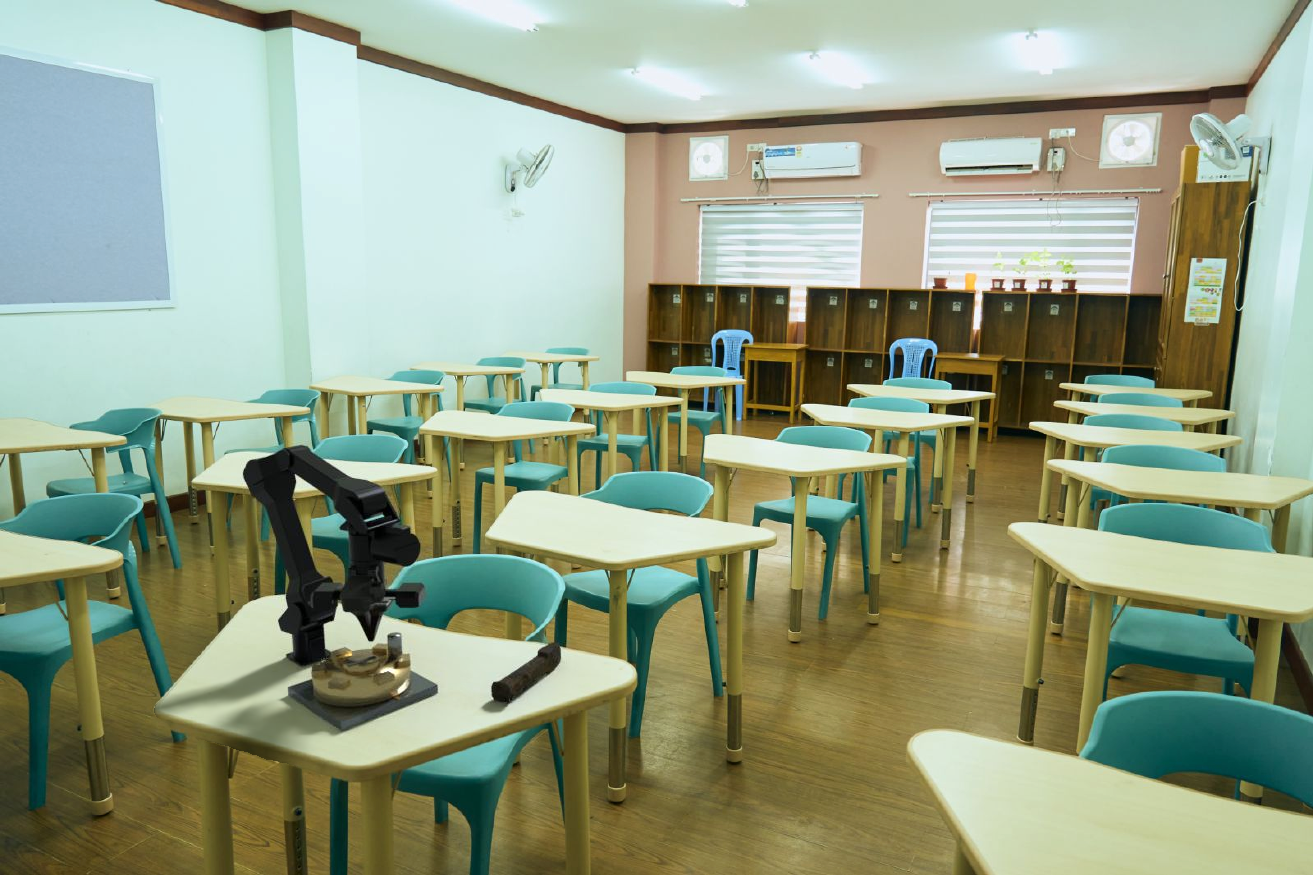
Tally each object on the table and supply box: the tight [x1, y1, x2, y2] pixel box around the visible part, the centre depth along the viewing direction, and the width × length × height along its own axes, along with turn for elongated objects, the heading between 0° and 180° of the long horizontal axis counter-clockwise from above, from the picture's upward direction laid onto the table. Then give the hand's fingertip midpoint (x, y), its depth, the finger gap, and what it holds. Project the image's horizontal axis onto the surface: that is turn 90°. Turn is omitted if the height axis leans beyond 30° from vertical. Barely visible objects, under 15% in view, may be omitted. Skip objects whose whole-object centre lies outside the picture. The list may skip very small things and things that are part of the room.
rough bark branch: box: [490, 641, 562, 704], centre depth 158 cm, size 19×4×5 cm, turn 151°
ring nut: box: [310, 631, 412, 707], centre depth 152 cm, size 16×16×7 cm
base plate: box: [287, 670, 439, 732], centre depth 153 cm, size 18×18×2 cm
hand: (371, 640), depth 158 cm, fingers closed
